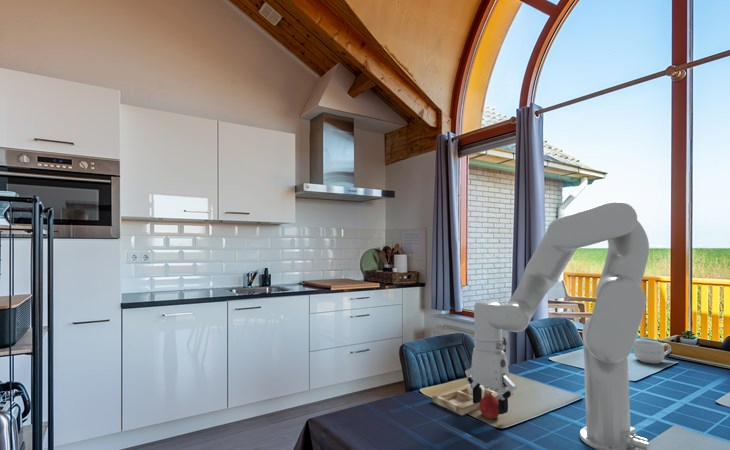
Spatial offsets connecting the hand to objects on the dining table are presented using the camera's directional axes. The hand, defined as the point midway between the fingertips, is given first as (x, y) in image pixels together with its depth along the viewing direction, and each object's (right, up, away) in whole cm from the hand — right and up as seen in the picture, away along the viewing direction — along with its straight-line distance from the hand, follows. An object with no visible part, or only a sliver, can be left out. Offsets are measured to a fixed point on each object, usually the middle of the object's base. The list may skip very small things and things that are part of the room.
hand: (489, 407), depth 112 cm
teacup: (+84, -5, +52) cm, 99 cm away
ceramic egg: (0, -3, +13) cm, 13 cm away
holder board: (-4, -4, +11) cm, 12 cm away
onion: (0, -4, 0) cm, 4 cm away
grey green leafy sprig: (+7, -5, +22) cm, 24 cm away
